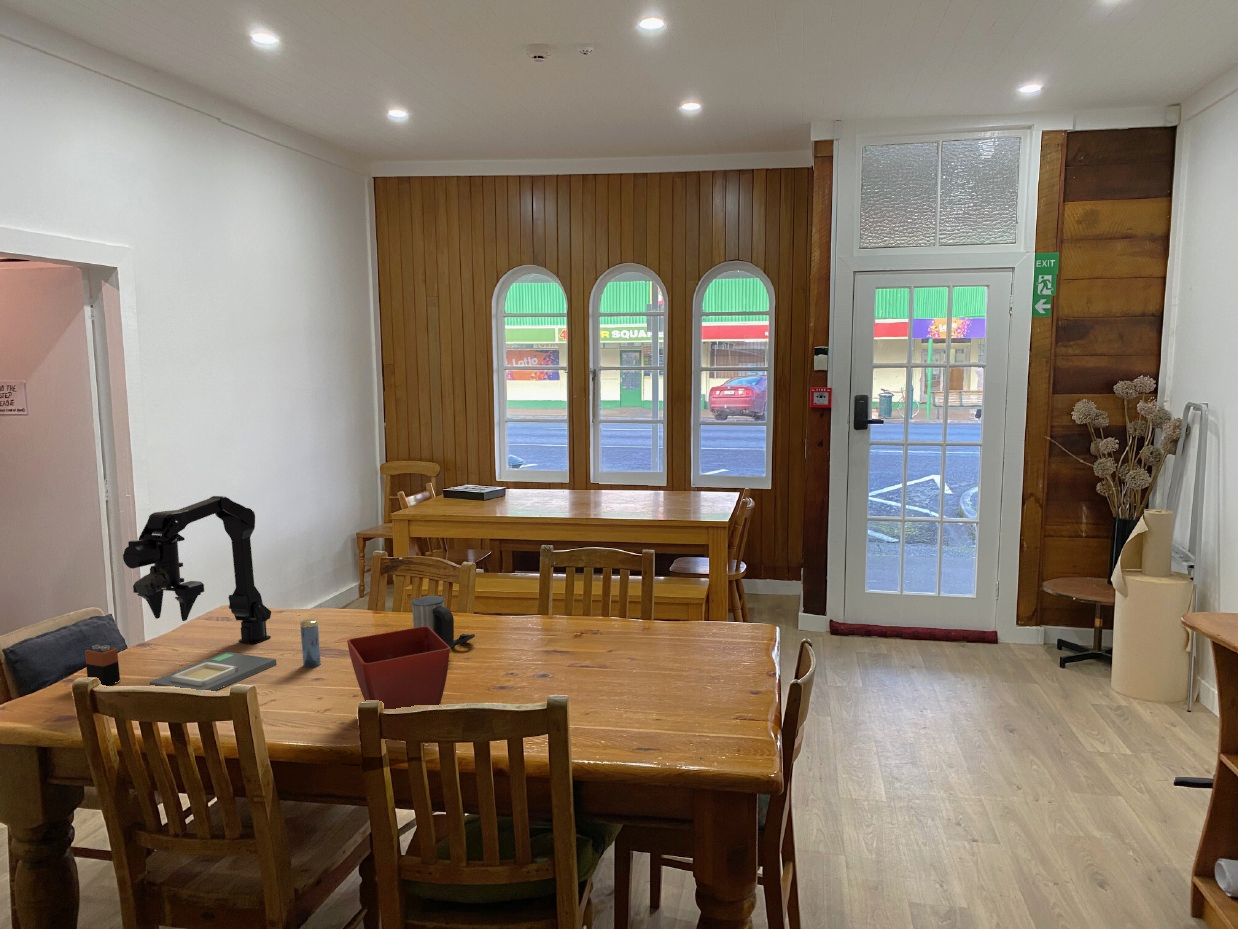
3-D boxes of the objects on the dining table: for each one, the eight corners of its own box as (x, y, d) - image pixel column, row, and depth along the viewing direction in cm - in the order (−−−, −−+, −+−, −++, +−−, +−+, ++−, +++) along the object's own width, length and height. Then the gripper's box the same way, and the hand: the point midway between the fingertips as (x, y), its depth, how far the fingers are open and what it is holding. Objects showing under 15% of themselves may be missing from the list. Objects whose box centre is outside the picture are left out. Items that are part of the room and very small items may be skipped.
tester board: (226, 657, 241) (225, 647, 240) (276, 664, 234) (275, 654, 233) (149, 687, 219) (149, 677, 219) (202, 697, 212) (201, 686, 211)
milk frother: (406, 655, 239) (403, 602, 237) (439, 638, 253) (436, 588, 251) (451, 661, 233) (448, 607, 232) (481, 642, 248) (479, 592, 246)
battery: (105, 688, 219) (101, 650, 218) (87, 685, 222) (83, 647, 221) (121, 682, 223) (117, 644, 222) (103, 679, 226) (99, 642, 225)
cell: (311, 661, 236) (308, 618, 234) (324, 663, 234) (321, 619, 232) (299, 666, 232) (296, 623, 230) (312, 668, 230) (309, 624, 228)
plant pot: (367, 739, 186) (362, 663, 184) (350, 709, 202) (346, 638, 200) (454, 720, 194) (451, 647, 192) (431, 692, 211) (428, 625, 209)
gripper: (112, 565, 221) (117, 625, 223) (168, 568, 215) (172, 630, 216) (149, 556, 232) (154, 614, 233) (203, 560, 225) (207, 619, 227)
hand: (170, 619), depth 227 cm, fingers open, 9 cm apart
